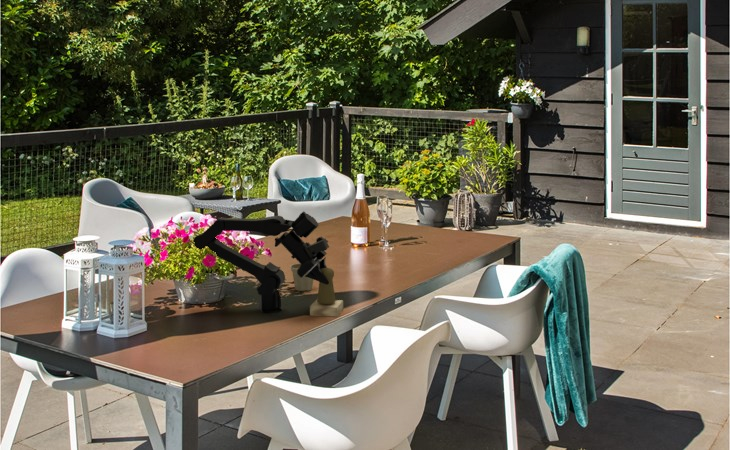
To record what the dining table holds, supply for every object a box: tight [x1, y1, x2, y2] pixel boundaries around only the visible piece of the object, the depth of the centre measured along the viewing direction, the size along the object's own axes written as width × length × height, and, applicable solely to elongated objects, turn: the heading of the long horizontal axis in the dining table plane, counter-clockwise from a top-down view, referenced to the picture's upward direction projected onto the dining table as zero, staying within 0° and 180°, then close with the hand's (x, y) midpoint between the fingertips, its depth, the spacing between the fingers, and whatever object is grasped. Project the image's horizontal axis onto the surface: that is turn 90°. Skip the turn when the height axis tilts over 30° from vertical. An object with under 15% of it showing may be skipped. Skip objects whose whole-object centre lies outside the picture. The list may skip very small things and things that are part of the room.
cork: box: [317, 267, 336, 304], centre depth 310 cm, size 6×6×11 cm
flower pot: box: [289, 262, 314, 292], centre depth 341 cm, size 9×9×9 cm
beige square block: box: [309, 299, 344, 318], centre depth 312 cm, size 9×9×3 cm
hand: (330, 281), depth 310 cm, fingers closed on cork, 5 cm apart
